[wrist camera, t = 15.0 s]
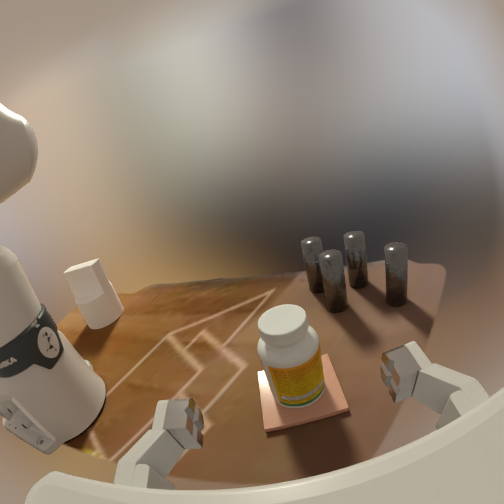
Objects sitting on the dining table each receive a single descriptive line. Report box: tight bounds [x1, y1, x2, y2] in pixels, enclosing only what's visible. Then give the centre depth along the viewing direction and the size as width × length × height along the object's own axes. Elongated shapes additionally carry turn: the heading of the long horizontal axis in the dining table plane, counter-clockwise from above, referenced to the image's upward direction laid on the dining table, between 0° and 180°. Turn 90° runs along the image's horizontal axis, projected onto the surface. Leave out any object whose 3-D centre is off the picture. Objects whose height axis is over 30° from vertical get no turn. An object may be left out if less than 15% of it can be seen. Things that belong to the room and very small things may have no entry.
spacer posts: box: [301, 231, 407, 313], centre depth 38 cm, size 12×12×8 cm
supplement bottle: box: [258, 304, 325, 409], centre depth 24 cm, size 5×5×10 cm
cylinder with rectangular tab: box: [63, 259, 124, 329], centre depth 50 cm, size 9×9×12 cm
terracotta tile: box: [258, 354, 349, 432], centre depth 26 cm, size 8×8×1 cm
